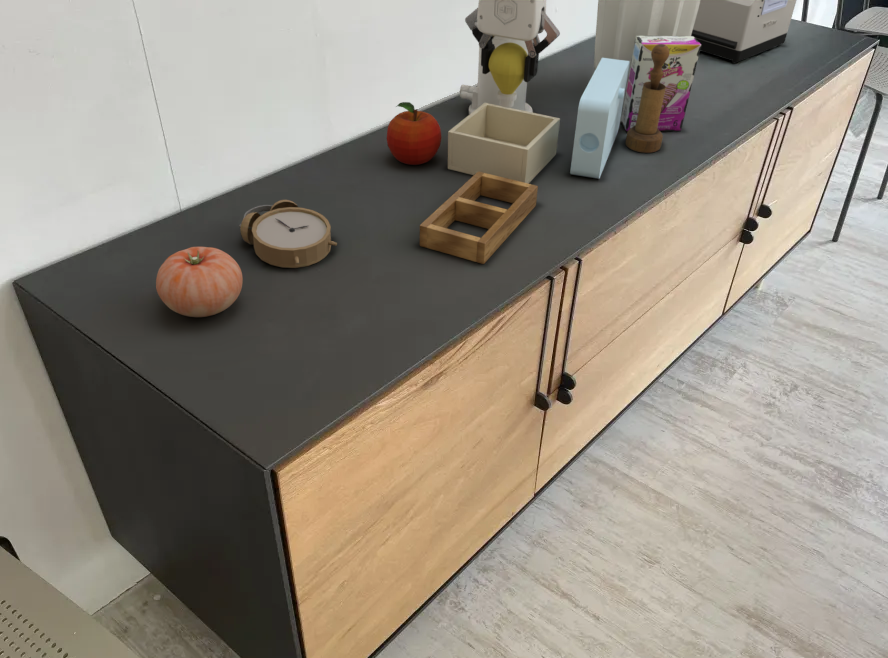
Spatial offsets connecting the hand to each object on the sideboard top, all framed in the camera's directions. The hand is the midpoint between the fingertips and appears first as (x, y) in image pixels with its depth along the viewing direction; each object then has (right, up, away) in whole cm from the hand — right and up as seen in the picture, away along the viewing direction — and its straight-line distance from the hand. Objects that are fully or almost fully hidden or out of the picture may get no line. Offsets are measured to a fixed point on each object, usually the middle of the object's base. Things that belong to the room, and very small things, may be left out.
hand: (508, 74), depth 128 cm
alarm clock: (-34, -30, -12) cm, 47 cm away
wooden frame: (-5, -26, -7) cm, 27 cm away
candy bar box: (+29, -2, +23) cm, 37 cm away
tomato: (-42, -40, -24) cm, 63 cm away
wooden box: (0, -12, +10) cm, 15 cm away
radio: (+17, -9, +14) cm, 24 cm away
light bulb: (0, -4, +3) cm, 5 cm away
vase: (+29, +9, +35) cm, 46 cm away
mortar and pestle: (+26, -7, +17) cm, 32 cm away
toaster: (+56, +32, +63) cm, 90 cm away
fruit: (-16, -11, +10) cm, 22 cm away
